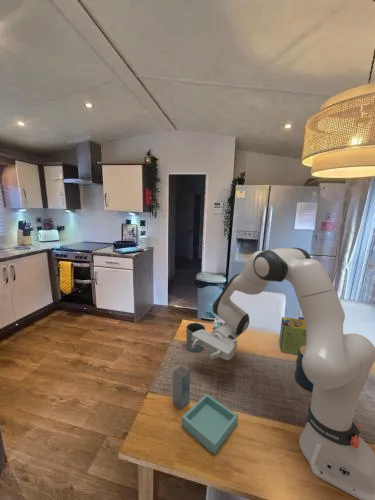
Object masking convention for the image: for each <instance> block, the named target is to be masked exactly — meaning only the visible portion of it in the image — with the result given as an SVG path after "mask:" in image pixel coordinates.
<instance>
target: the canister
mask: <svg viewBox="0 0 375 500" xmlns="http://www.w3.org/2000/svg"><path fill="white" fill-rule="evenodd" d="M305 350H306V345H305V346H302V347H301V348H300V350H299V351H298V353H297V355H296V356H297V357H296V361H295V362H296V364H295V370H294V379H295V381H296V383H297V384H299V385H300V386H301V387H303V388H304V389H305V390H308V391H311V392H313V386H314V384H313V383H312V382H310V380H309V379H308V378H307V377H306V375H305V373H304V371H303V368H302V358H303V356H304V353H305Z"/></svg>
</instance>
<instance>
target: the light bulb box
mask: <svg viewBox="0 0 375 500" xmlns="http://www.w3.org/2000/svg"><path fill="white" fill-rule="evenodd" d="M213 320H214V321H213V325H212V331H213V330H215V329H216V328H218V327H220V326H222V325H223V324H224V323H226V322H225V321H224V320H223V319H221V318H218V317H215V318H214V319H213Z"/></svg>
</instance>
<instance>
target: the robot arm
mask: <svg viewBox="0 0 375 500" xmlns="http://www.w3.org/2000/svg"><path fill="white" fill-rule="evenodd" d="M327 272H328V271H326V269H325V268H324V266H323V264H322V263H321V262H320V261H319V260H317V259H314V258H311V255H310V253H308V251H307V250H306V249H303V248H301V247H300V248H299V247H285V248H283V247H281V248H273V249H271V250H270V249H267V250H257V251H255V252H253V253H252V254H251V256H250V257H249V259H248V260H247V261H246V264H245V266H244V267H243V270H242V272H241V273H236V274H235V275H233V276H232V277H231V278H230V280H229V281H228V283H227V284H226V285H225V286H224V288H223V290H222V291H221V293H219V296H218V297H217V298H216V299H215V301H214V302H213V303H212V312H213V314H215V315H216V316H218V317H219V319H223V320H224V321H225V322H226V323H224V324H223V325H222V326H220V327H218V328H216V329H215V330H213V329H212V331H211V332H210V331H208V330H206V329H205V330H203V329H201V330H198V331H196V332H194V333H192V341H193V342H194V343H193V344H192V348H194V349H195V348H197V345H200V346H202V347H203V349H205V350H207V351H209V352H210V353H208V354H209V355H208V358H209V359H211V360H213V359H216V358H222V359H223V360H225V361H229V360H231V359H232V358H233V357H234V356H235V353H236V352H237V348H238V339H237V338H239V337H240V336H241V335H242V334H243V333H244V332H245V331H246V330H247V329H248V326H249V325H250V315H249V314H248V312H246V311H245V310H244V309H242V308H241V307H240V306H239V305H237V304H236V303H235V302H234V301H232V299H231V296H232V295H233V294H234V293H235V291H236V292H240V293H243V294H246V295H250V296H251V295H253V296H254V295H259V294H261V293H262V292H264V291H265V290H266V288H267V286H268V284H269V282H279V283H282V282H283V281H285V280H286V281H288V282H289V283H290V285H292V288H293V289H294V292H295V296H296V298H297V301H298V305H299V307H300V311H301V314H302V317H303V320H304V321H305V326H306V350H305V353H304V356H303V358H302V368H303V371H304V373H305V375H306V377H307V378H308V379H309V380H310V382H312V383H313V384H314V386H313V391H311V392H312V393H311V400H310V403H309V404H308V406H307V411H306V412H307V413H306V424H305V426H304V429H303V431H302V432H301V433H300V436H299V440H298V441H299V449H300V450H301V452H302V454H303V456H304V458H306V460H307V461H308V463H309V466H310V469H311V471H312V473H313V475H314V476H315V477H317V478H318V479H320V480H322V481H324V482H326V483H328V484H331V485H332V486H334V487H336V488H338V489H340V490H341V491H343V492H345V493H347V494H349V495H351V496H353V497H354V498H356V499H358V500H375V452H374V450H373V449H372V447H370V445H369V444H367V442H366V441H365V440H364V439H363V438H362V437H361V436H360V423H359V422H357V425H356V424H355V423H354V422H353V421H354V417H355V411H356V408H357V403H358V401H359V398H360V395H361V394H362V391H363V390H364V387H365V385H366V382H367V380H368V377H369V374H370V372H371V370H372V368H373V366H374V363H375V345H374V344H373V343H372V342H371V341H370V340H369V339H368V338H367V337H366V336H364V335H362V334H359V333H344V321H345V319H346V315H345V311H344V309H343V306H342V303H341V301H340V299H339V296H338V293H337V291H336V289H335V286H334V284H333V282H332V279H331V278H330V276H329V274H328V273H327Z"/></svg>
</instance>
